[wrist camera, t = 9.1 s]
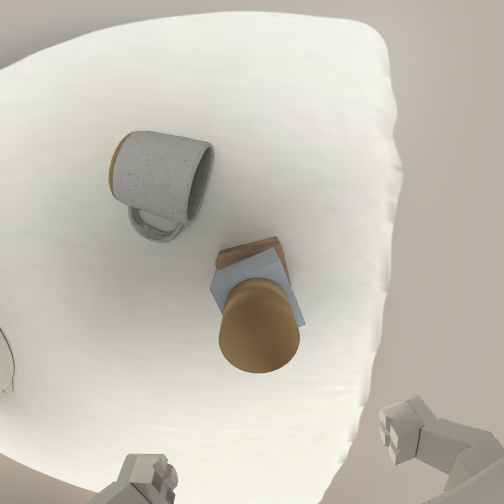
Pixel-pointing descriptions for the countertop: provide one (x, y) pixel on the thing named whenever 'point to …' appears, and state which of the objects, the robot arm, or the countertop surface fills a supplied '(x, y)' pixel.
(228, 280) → the slate upper block
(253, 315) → the oak cylinder
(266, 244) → the walnut base block
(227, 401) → the countertop surface
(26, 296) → the countertop surface
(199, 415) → the countertop surface
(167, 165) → the ceramic mug
